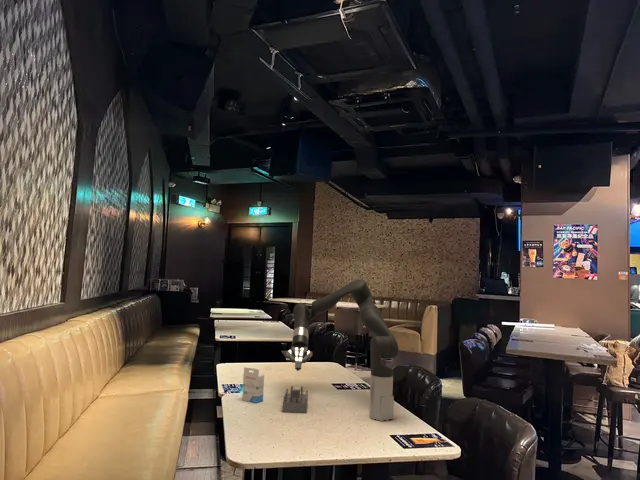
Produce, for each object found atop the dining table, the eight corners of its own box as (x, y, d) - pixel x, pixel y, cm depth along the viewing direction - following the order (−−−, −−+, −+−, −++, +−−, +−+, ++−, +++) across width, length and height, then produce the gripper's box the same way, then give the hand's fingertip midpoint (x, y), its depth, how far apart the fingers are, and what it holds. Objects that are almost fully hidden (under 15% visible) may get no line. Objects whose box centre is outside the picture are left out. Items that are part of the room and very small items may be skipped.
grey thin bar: (293, 386, 207) (292, 391, 197) (300, 386, 207) (299, 391, 197) (293, 389, 207) (292, 394, 197) (300, 389, 207) (299, 394, 197)
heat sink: (285, 402, 208) (286, 382, 209) (307, 403, 208) (308, 383, 209) (282, 412, 193) (283, 390, 194) (306, 413, 193) (307, 391, 194)
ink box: (263, 401, 209) (265, 367, 210) (257, 403, 204) (259, 369, 206) (248, 398, 213) (250, 365, 214) (241, 400, 208) (243, 366, 210)
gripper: (314, 344, 225) (312, 375, 212) (286, 343, 225) (283, 373, 212) (314, 334, 220) (312, 365, 207) (286, 333, 221) (283, 364, 207)
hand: (297, 369), depth 210 cm, fingers closed
